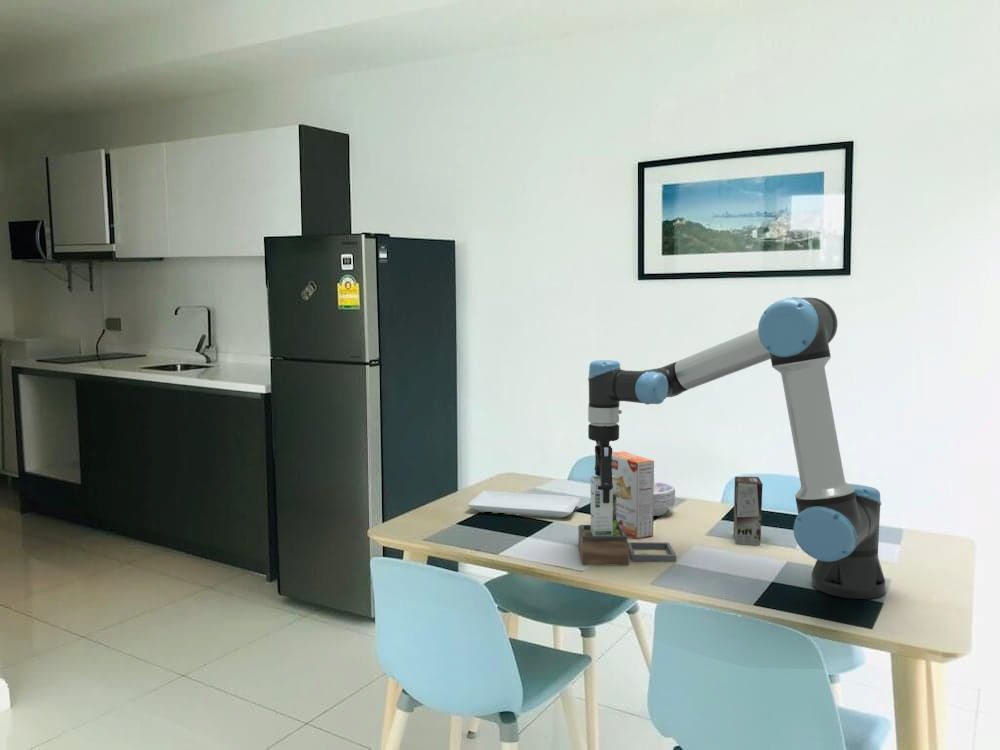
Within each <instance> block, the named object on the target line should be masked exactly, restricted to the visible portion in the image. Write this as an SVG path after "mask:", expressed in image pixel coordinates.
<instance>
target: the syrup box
mask: <svg viewBox="0 0 1000 750" xmlns="http://www.w3.org/2000/svg"><path fill="white" fill-rule="evenodd" d="M589 482H590V525H591V533H592V535H593V536H616V508H617V481H616V479H615V477H614V476H613V475H612V485H613V488H612V509H611V516H600V490H598V486H601V479H600V476H597V475H591V476H590V481H589ZM604 484H608V483H604Z"/></svg>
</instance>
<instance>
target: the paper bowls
mask: <svg viewBox="0 0 1000 750" xmlns="http://www.w3.org/2000/svg"><path fill="white" fill-rule="evenodd" d="M674 505H676V488H675V487H674V486H673V485H671V484H669V483H664V482H657V481H654V496H653V516H657V517H661V515H662V516H664V515H666V514H667V512H668V510H669V508H671V507H673V506H674Z"/></svg>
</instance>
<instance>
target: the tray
mask: <svg viewBox="0 0 1000 750" xmlns="http://www.w3.org/2000/svg"><path fill="white" fill-rule="evenodd" d="M581 501H582V497H578V496H571V495H570V496H568V495H560V494H559V495H555V494H543V493H541V494H539V493H526V492H525V493H523V492H509V491H495V490H483V491H481V492H480V493H479V494H478V495H476V496H475V497H474V498H473V499H472V500H471V501H469V502H468V503H467V506H468V507H469V508H472V509H474V510H476V511H478V512H480V511H481V512H480V513H484V512H492V513H491V514H498V513H506V514H505V515H511V514H519V515H518V516H525V515H531V516H530V517H538V516H543V517H542V518H551V517H554V518H553V519H563V518H565V517H567V516H569V515H571V514H572V513H573V511H574V510H575V508H576V507H577V505H579V504H580V502H581Z"/></svg>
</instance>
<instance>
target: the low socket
mask: <svg viewBox="0 0 1000 750" xmlns="http://www.w3.org/2000/svg"><path fill="white" fill-rule="evenodd" d="M628 544H629V557H630V559H631V562H638V561H640V562H642V561H643V562H645V563H647V562H649V563H650V562H653V563H655V562H658V563H662V562H661V561H664V562H663V563H665V561H666V562H667V561H668V562H669V563H673V562H674V563H677V555H676V552H675V551H674V549H673V546H672V545H671V544H670V542H657V541H655V542H651V541H650V542H645V541H643V542H640V541H639V542H638V541H637V542H636V541H634V542H633V541H628ZM666 549H667V550H666ZM634 550H666V552H667V551H668V552H667V553H668V554H645V553H644V554H636V553H635V551H634ZM668 562H667V563H668Z"/></svg>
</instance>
